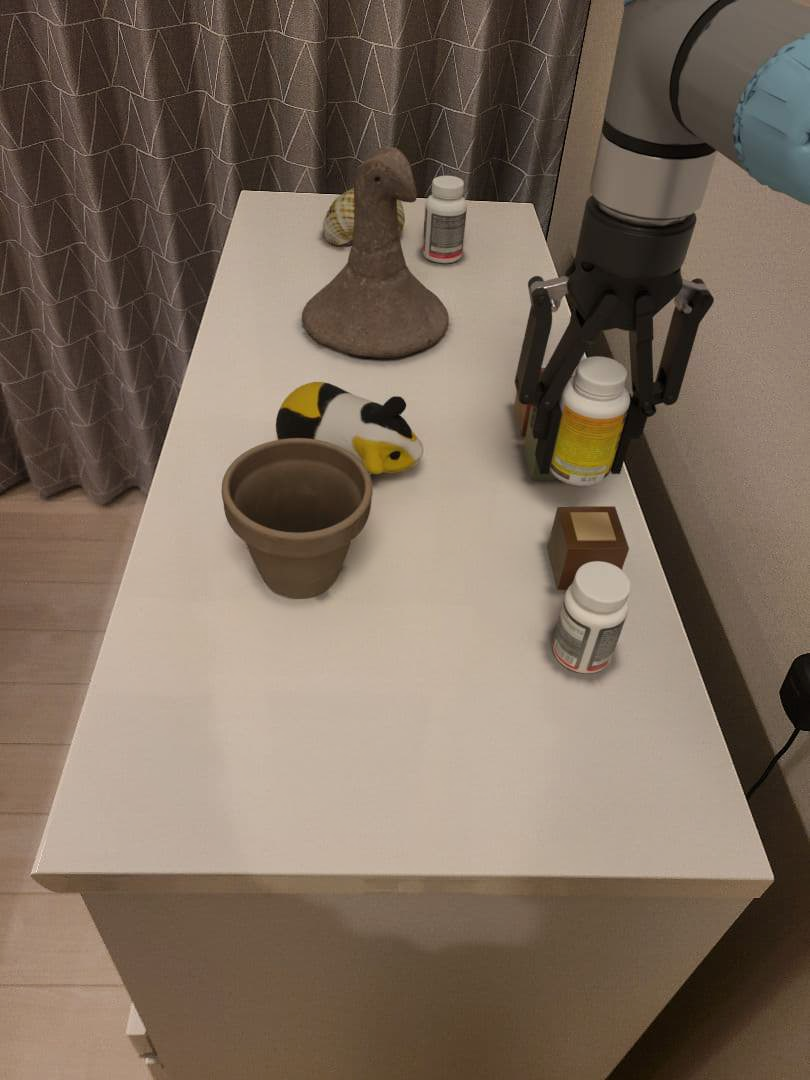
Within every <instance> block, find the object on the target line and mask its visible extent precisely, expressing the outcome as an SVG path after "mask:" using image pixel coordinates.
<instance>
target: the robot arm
mask: <svg viewBox="0 0 810 1080" xmlns="http://www.w3.org/2000/svg"><path fill="white" fill-rule="evenodd" d="M622 6H623V12H622V17H621V24H620V29H619V33H618V38H617V39H618V40H617V44H616V49H615V56H614V60H613V66H612V70H611V76H610V80H609V81H610V82H609V86H608V92H607V97H606V103H605V108H604V113H603V121H602V126H601V130H600V135H599V139H598V144H597V149H596V153H595V154H596V155H595V159H594V164H593V169H592V174H591V178H590V183H589V193H591V194H590V196H589V197H588V198H587V200H586V202H585V206H584V211H583V216H582V220H581V225H580V231H579V235H578V240H577V245H576V251H575V256H574V259H573V260H572V262H571V264H570V265H569V266H568V267H567V269H566V270H565V273H564V275H563V276H557V277H555V278H551V279H546V280H545V279H544V278H543V277H542V276H540V275H533V276H532V277H531V278H529V280H528V281H527V287H528V294H529V300H530V309H529V314H528V318H527V322H526V327H525V331H524V337H523V341H522V345H521V350H520V355H519V360H518V363H517V367H516V372H515V377H514V386H515V390H516V393H517V394H518V398H519V401H520V403H521V404H524V405H526V404H530V403H531V404H533V410H532V415H531V420H530V426H531V430H532V434H533V437H534V439H538V441H537V446H536V451H535V456H536V460H537V464H538V468H539V472H540V474H549V469H550V465H551V461H552V456H553V452H554V447H555V443H556V438H557V434H558V429H559V425H560V420H561V416H562V411H561V408H560V405H559V401H558V399H559V397H560V395H561V394H562V392H563V390H564V388H565V387H566V385H567V383H568V381H569V380H570V378H571V376H572V377H573V374H575V373H574V372H576V369H577V366H578V364H579V362H580V361H581V360H582V358H583V357H584V355H585V353H586V351H587V350H588V348H589V346H590V345H591V344H594V343H595V342H596V340H597V338H598V336H599V334H600V333H601V332H602V331H610V330H615V329H618V330H621V331H626V332H628V344H629V361H630V380H631V392H632V394H631V393H629V395H630V404H629V408H628V412H627V415H626V419H625V422H624V426H623V429H622V433H621V436H620V440H619V444H618V447H617V450H616V454H615V458H614V461H613V464H612V468H611V471H610V473H611V475H620V474H621V472H622V468H623V467H624V462H625V460H626V456H627V452H628V449H629V445H630V442H631V440H632V439H633V440H638V439H640V438H641V436H642V435H643V433H644V430H645V426H646V423H647V420H648V418H651V417H653V416H654V415H655V414H656V413H657V408H656V406H657V405H661V404H664V405H665V406H672V405H674V404H675V403H676V402H677V401H678V400H679V396H680V392H681V389H682V386H683V382H684V378H685V375H686V371H687V367H688V364H689V361H690V358H691V354H692V350H693V347H694V343H695V340H696V337H697V334H698V329H699V326H700V324H701V322H702V321H703V319H704V317H705V316H706V315H707V313H708V312H709V310H710V309H711V307H712V306H713V304H714V302H715V298H714V296H713V295H712V293H711V291H710V289H709V288H708V287H707V285H706V283H705V281H704V280H703V279H702V278H698V277H697V278H694V279H691V280H689V279H688V280H687V279H684V278H683V277H682V266H683V265H684V263H685V260H686V257H687V253H688V251H689V248H690V243H691V241H692V238H693V237H692V236H693V234H694V231H695V228H696V224H697V214H696V212H697V211H699V210H700V209H701V207H702V205H703V202H704V198H705V195H706V191H707V188H708V185H709V182H710V177H711V174H712V171H713V167H714V165H715V162H716V161H715V160H716V157H717V153H719V154H721V155H722V156H724V157H725V158H726V159H728V160H730V162H732V163H733V164H734V165H737V166H738V167H740V169H742V170H744V171H745V172H746V173H747V174H748V175H749V177H751V178H752V179H755V180H756V182H757V183H758V184H760V185H762V186H767V187H768V188H769V189H770V190H771V191H774V192H778V193H782V194H784V195H786V196H788V197H789V198H792V199H794V200H796V201H798V202H799V203H802V204H804V205H807V206H810V6H807V5H806V4H805V5H804V4H802V3H799V2H796V1H793V0H623V5H622ZM566 295H569V296H570V298H571V300H572V301H573V303H574V305H575V306H574V308H573V310H572V312H571V314H570V317H569V323H568V325H567V327H566V328H565V330H564V332H563V334H562V336H561V338H560V340H559V342H558V344H557V345H556V347H555V349H554V351H553V353H552V355H551V357H550V359H548V362H547V364H546V365H545V367H544V368H545V370H544V371H543V373H542V375H541V377H540V379H539V375H540V371H541V368H543V364H544V359H545V355H546V352H547V351H546V350H547V346H548V343H549V339H550V334H551V330H552V324H553V313H557V311H558V310H559V308H560V306H561V302H562V300H563V298H564V297H565V296H566ZM671 301H673V303H674V305H675V306H674V310H673V311H672V315H671V319H670V322H669V326H668V331H667V335H666V339H665V343H664V346H663V350H662V355H661V358H660V361H659V366H658V370H657V374H656V376H655V377H656V378H655V381H654V359H653V341H654V317H655V316H656V315H657V314H659V312H660V311H662V310H663V309H664V308H665V307H666V306H667V305H668V304H669V303H671ZM538 380H539V381H538Z"/></svg>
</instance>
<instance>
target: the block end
mask: <svg viewBox="0 0 810 1080" xmlns="http://www.w3.org/2000/svg"><path fill="white" fill-rule="evenodd" d="M545 368H546V367H541V371H540V375H539V379H540V377H541V375H542V373H543V371H544V370H545ZM572 377H573V375H572V376H571V378H572ZM571 378H570V379H571ZM538 381H539V380H538ZM559 400H560V397H559V399H558V401H559ZM532 406H533V404H531V403H530V404H526V405H524V404H521V403H520V401H519V398H518V394H517V392H516V393H515V399H514V406H513V409H514V413H515V416H516V417H515V418H516V421H517V426H518V428H519V429H518V430H519V434H520V437H523V438H525V437H526V432H527V426H528V421H529V416H530V410H531V407H532Z"/></svg>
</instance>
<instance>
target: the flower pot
mask: <svg viewBox="0 0 810 1080" xmlns="http://www.w3.org/2000/svg"><path fill="white" fill-rule="evenodd" d="M373 491H374V489H373V482H372V478H371V474H369V472H368V470H367V469H366V467H365V466H364V464H363V463H362V462H361V461H360V460H359V459H358V458H357V457H356V456H354V455H353V454H352V453H351V452H349V451H347V450H345V449H343V448H342V447H340V446H337V445H335V444H332V443H329V442H325V441H321V440H315V439H307V438H288V439H280V440H278V439H275V440H271V441H267V442H263V443H260V444H258V445H256V446H254V447H252V448H249V449H247V450H246V451H244V452H243V453H241V454H240V455H239V456H238V457H236V458H235V459H234V460H233V461H232V462H231V464H230V465H229V466H228V467H227V469H226V471H225V473H224V475H223V478H222V482H221V499H222V503H223V511H224V516H225V519H226V522H227V523H228V525H229V527H230V528H231V529H232V531H233V532H234V533H235V534H236V536H237V537H239V538H240V539H241V540H242V541H243V542H244V543H245V546H246V547H247V550H248V552H249V555H250V557H251V558H252V561H253V563H254V565H255V567H256V569H257V571H258V573H259V575H260V576H261V578H262V580H263V582H264V583H265V584H266V585H267V587H268V588H269V589H270V590H271V591H273V592H274V593H276V594H278V595H280V596H283V597H286V598H291V599H308V598H313V597H316V596H318V595H320V594H323V593H324V592H326V591H327V590H329V589H330V588H331V587H332V586H333V585H334V583H335V582H336V580H337V578H338V577H339V574H340V573H341V570H342V567H343V565H344V563H345V560H346V558H347V555H348V552H349V550H350V548H351V544H352V541H353V540H354V539H356V538H357V536H359V534H360V533H361V532H362V531H363V529H365V526H366V524H367V522H368V521H369V520H368V519H369V517H370V513H371V507H372V500H373V499H372V498H373Z"/></svg>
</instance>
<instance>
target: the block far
mask: <svg viewBox="0 0 810 1080" xmlns="http://www.w3.org/2000/svg"><path fill="white" fill-rule="evenodd" d="M532 410H533V406H532V407H531V410H530V416H529V421H528V426H527V432H526V437H524V443H523V450H524V454H525V458H526V459H525V460H526V462H527V468H528V471H529V475H530V479H531V480H559V479H558V478H557V477H555V476H554V475H553V473H552V472H551V471H550V469H549V474H540V472H539V468H538V464H537V460H536V456H535V451H536V446H537V441H538V439H534V437H533V434H532V430H531V426H530V420H531V415H532Z"/></svg>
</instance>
